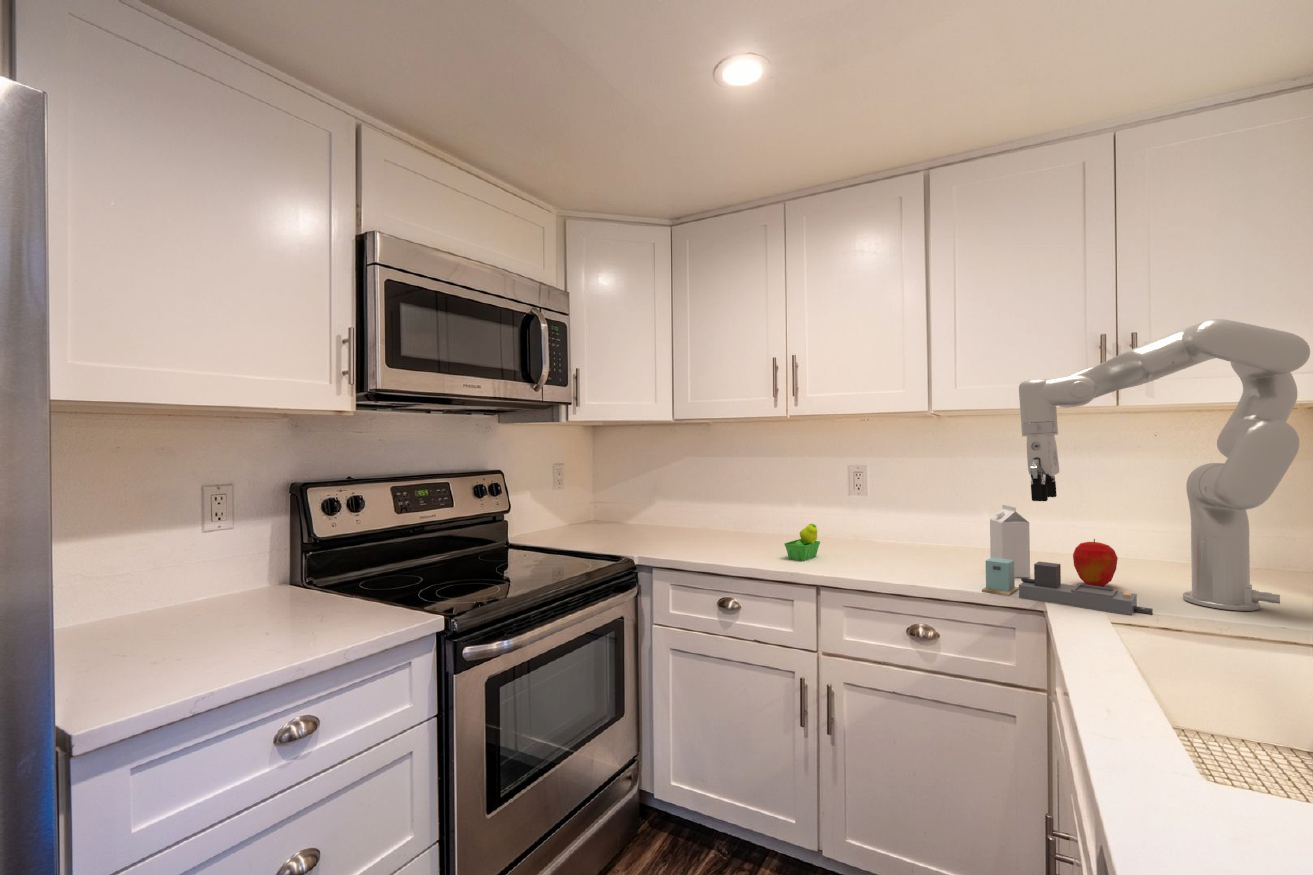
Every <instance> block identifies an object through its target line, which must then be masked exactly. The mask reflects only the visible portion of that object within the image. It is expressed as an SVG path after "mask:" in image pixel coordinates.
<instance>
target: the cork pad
mask: <svg viewBox="0 0 1313 875" xmlns="http://www.w3.org/2000/svg"><path fill="white" fill-rule="evenodd" d="M981 592H983V593H988V594H994V595H1001V596H1007V597H1010V596H1012V595H1013V594H1014V593H1016V592H1019V586H1015V589H1013V590H1011V591H1010V592H1004V591H997V590H991V589H986V586H985V587H983V588H982V589H981Z"/></svg>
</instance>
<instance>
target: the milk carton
mask: <svg viewBox="0 0 1313 875" xmlns="http://www.w3.org/2000/svg"><path fill="white" fill-rule="evenodd" d="M1001 506H1002V508H1001V509H1000V510H998V511H996V513H995V514H994V515H993V516H991V517H990V518H989V539H990V540H989V541H990V542H989V544H990V545H989V546H990V548H989V549H990V551H989V552H990V553H989V556H990V557H989V558H992V557H993V558H1001V559H1009V560H1014V575H1015V578H1030V577H1031V560H1030V559H1031V555H1030V554H1031V553H1030V552H1031V551H1030V549H1031V548H1030V544H1031V543H1030V541H1031V540H1030V522H1029V521H1028V520H1027V519H1026V518H1024V517H1023V516H1022V515H1020V514H1019V513H1018V511H1017V507H1016V506H1011V505H1006V504H1001Z"/></svg>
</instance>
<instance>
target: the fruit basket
mask: <svg viewBox="0 0 1313 875" xmlns="http://www.w3.org/2000/svg"><path fill="white" fill-rule="evenodd" d="M799 537H800V538H798V539H795V540H792V541H788V542H784V544H783V545H784V547H785V549H786V553H787V556H788V559H789V560H793V561H801V562H805V561H808V560H810V559H813V558H815V557H817V555H818V551H819V547H820V544H821V541H820V540H819V541H818V527H817V524H815V523H809V524H808V525H807V526H806V527H804V528H802V529H801V530H800V532H799Z"/></svg>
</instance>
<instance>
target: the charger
mask: <svg viewBox="0 0 1313 875" xmlns="http://www.w3.org/2000/svg"><path fill="white" fill-rule="evenodd" d="M1015 579H1016V577H1015V575H1014V560H1009V559H1001V558H993V557H992V558H991V557H989V558H988V559H985V587H986V589H991V590H997V591H1004V592H1010V591H1011V590H1013V589H1015V587H1016V586H1015V585H1016V584H1015V583H1016V582H1015V581H1016V580H1015Z"/></svg>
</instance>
